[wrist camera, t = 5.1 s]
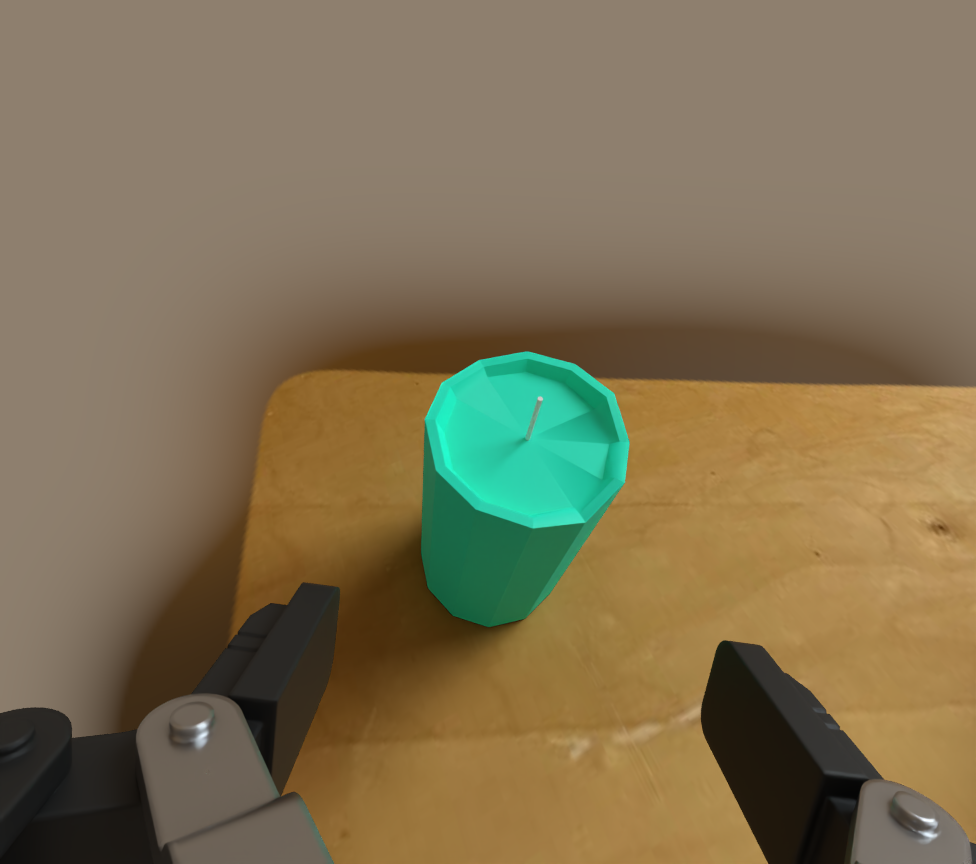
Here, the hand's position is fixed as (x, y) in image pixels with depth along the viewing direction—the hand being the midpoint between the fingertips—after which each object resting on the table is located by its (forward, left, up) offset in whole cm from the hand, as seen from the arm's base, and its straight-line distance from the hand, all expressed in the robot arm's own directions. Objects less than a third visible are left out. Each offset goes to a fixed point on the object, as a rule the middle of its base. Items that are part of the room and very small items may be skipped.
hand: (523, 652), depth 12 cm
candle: (-1, +6, -12) cm, 14 cm away
